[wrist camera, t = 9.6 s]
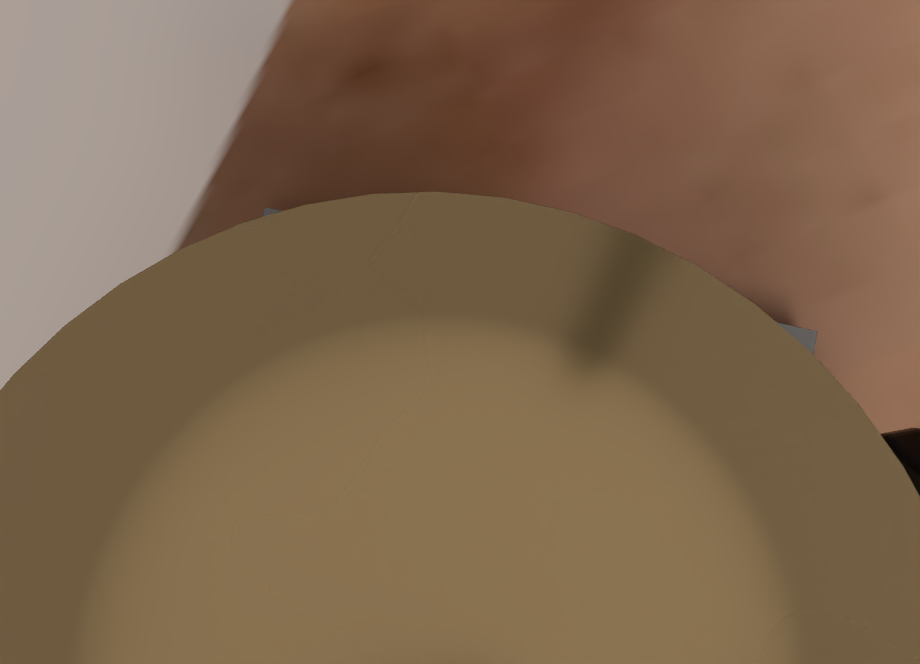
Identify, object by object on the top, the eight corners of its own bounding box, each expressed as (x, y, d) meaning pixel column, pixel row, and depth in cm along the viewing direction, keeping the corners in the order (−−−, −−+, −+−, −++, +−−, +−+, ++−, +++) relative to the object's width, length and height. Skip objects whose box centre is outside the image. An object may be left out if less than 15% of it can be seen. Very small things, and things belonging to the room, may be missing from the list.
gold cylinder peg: (619, 695, 16) (1133, 1395, 3) (341, 721, 16) (-194, 1508, 3) (586, 416, 17) (880, 145, 4) (324, 441, 17) (-132, 242, 4)
